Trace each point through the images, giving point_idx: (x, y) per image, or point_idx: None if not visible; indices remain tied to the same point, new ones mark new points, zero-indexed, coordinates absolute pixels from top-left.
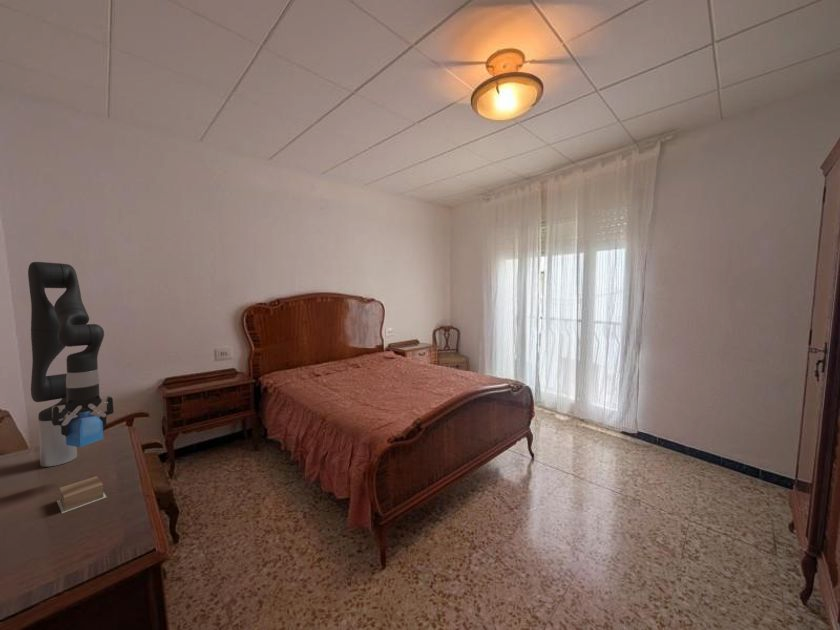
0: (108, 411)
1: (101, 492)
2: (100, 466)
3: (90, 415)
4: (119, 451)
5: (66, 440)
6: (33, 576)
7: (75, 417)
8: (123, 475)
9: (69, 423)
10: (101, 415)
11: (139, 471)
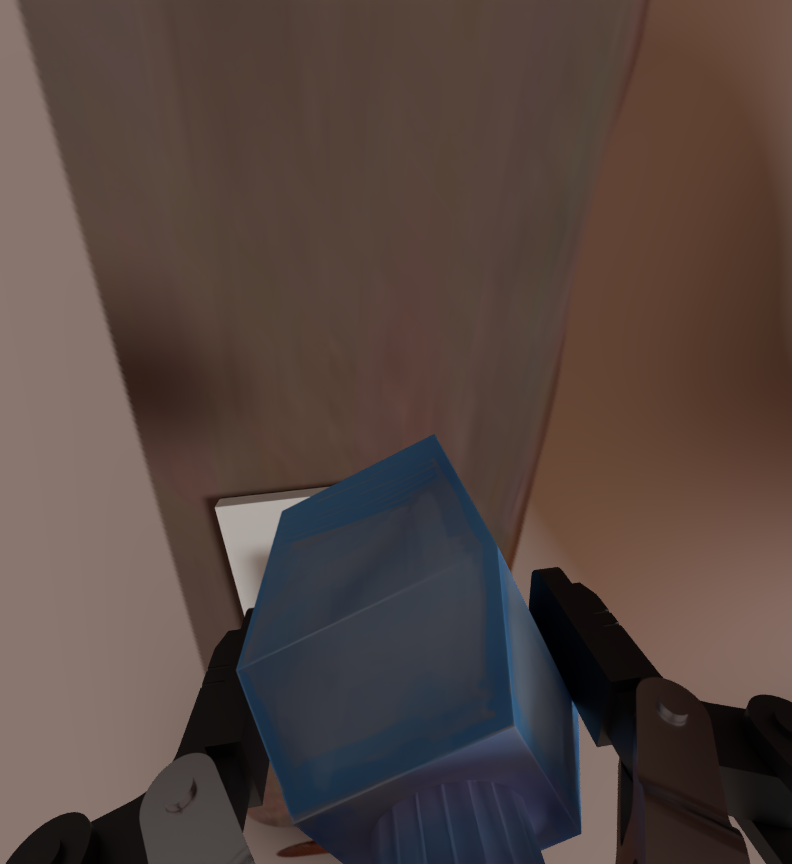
0: (748, 824)
1: None
2: (439, 260)
3: (529, 816)
4: (560, 66)
5: (277, 539)
6: (272, 792)
7: (340, 802)
8: (485, 458)
9: (271, 738)
10: (628, 796)
11: (534, 466)
